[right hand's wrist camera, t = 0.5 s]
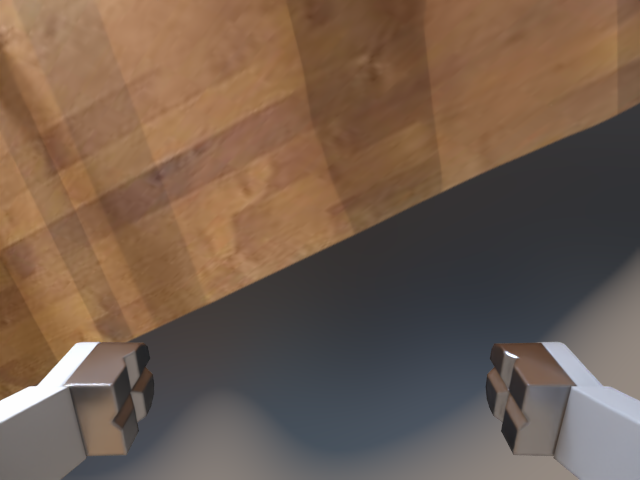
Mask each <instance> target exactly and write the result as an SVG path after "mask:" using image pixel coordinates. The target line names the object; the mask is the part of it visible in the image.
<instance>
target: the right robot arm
mask: <svg viewBox="0 0 640 480" xmlns="http://www.w3.org/2000/svg"><path fill="white" fill-rule="evenodd" d="M149 360H150V356H149V351H148V347H147V346H146V345H145V344H144V343H118V342H102V343H101V342H80V343H77V344H75V345H74V346H73V347H72V348H71V350H70V351H69V352H68V353H67V354H66V355H65V356H64V357H63V358H62V359H61V360H60V362H59V363H58V364H57V365H56V366H55V367H54V368H53V369H52V370H51V371H50V372H49V374H48V375H47V376H46V377H45V378H44V379H43V380H42V381H41V382H40V383H39V384H38V386H29V387H27V388H25V389H23V390H21V391H19V392H17V393H15V394H13V395H11V396H9V397H7V398H5V399H3V400H1V401H0V480H61V479H62V478H63V477H64V476H66V475H67V474H68V473H69V472H70V471H72V470H73V469H74V468H75V467H76V466H78V465H79V464H80V463H81V462H82V461H84V460H85V459H86V456H106V455H127V453H128V451H129V449H130V447H131V445H132V443H133V441H134V439H135V437H136V435H137V433H138V431H139V430H138V424H137V422H138V421H140V420H141V419H143V418H144V417H146V416H147V414H148V412H149V409H150V407H151V404H152V400H153V395H154V380H153V374H152V373H151V372H150V371H149V370H148V369H147V368H146V367H145V366H146V365H147V363H148V361H149ZM490 360H491V361H492V363H493V365H494V366H495V367H494V368H493V369H492V370H491V371H490V372H489V373H488V374H487V381H486V395H487V401H488V404H489V407H490V410H491V412H492V414H493V416H494V417H496V418H497V419H499V420H500V421H502V422H503V424H502V430H501V432H502V433H503V435H504V437H505V439H506V441H507V443H508V445H509V447H510V449H511V451H512V453H513V455H533V456H554V459H555V460H557V461H558V462H559V463H560V464H561V465H563V466H564V467H565V468H566V469H567V470H569V471H570V472H571V473H572V474H573V475H575V476H576V477H577V478H578V479H579V480H640V401H639V400H637V399H635V398H633V397H631V396H629V395H627V394H625V393H623V392H621V391H619V390H617V389H615V388H613V387H610V386H602V384H601V383H600V382H599V381H598V380H597V379H596V378H595V377H594V376H593V375H592V374H591V372H590V371H589V370H588V369H587V368H586V367H585V366H584V365H583V364H582V363H581V362H580V360H579V359H578V358H577V357H576V356H575V355H574V354H573V353H572V352H571V351H570V349H569V348H568V347H567V346H566V345H565V344H563V343H561V342H539V343H504V344H494V346H493V348H492V350H491V356H490Z"/></svg>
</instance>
